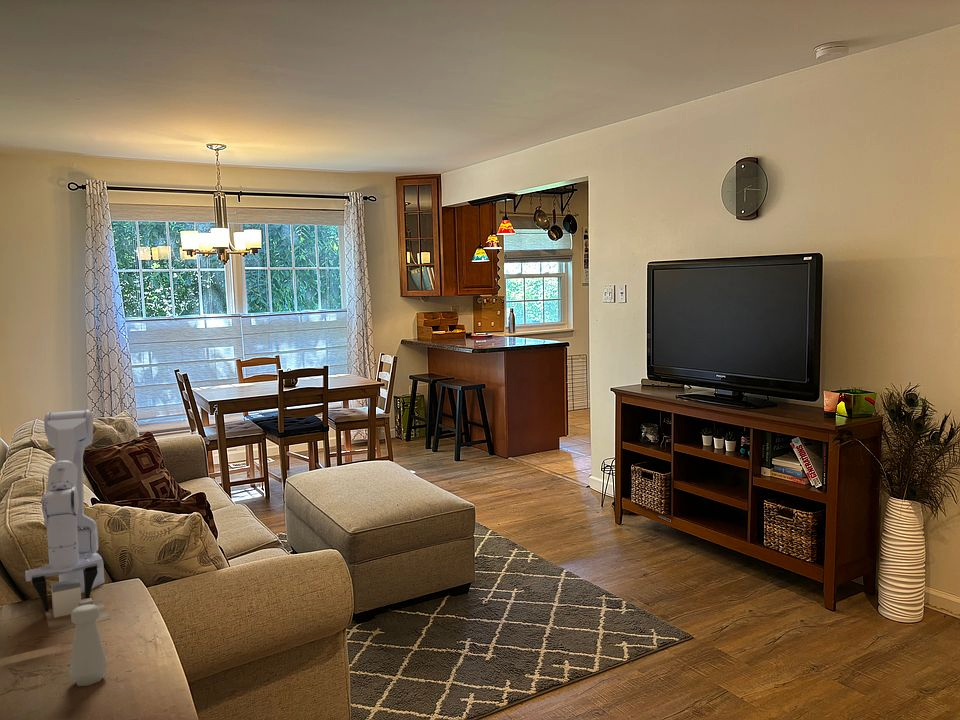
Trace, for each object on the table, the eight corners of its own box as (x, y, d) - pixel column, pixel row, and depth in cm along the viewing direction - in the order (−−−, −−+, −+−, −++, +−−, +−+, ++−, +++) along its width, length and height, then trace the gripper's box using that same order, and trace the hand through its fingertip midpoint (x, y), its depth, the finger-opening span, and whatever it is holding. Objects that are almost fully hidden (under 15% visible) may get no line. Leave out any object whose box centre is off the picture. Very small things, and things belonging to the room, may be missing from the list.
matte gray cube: (52, 610, 159) (51, 583, 159) (79, 605, 162) (78, 578, 162) (54, 617, 154) (52, 589, 154) (82, 611, 157) (80, 584, 157)
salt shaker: (96, 688, 123) (91, 612, 122) (63, 689, 123) (58, 613, 123) (114, 672, 129) (109, 600, 128) (82, 673, 129) (78, 601, 128)
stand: (45, 616, 159) (43, 593, 159) (101, 603, 165) (99, 582, 165) (50, 638, 146) (48, 614, 146) (110, 624, 152) (109, 601, 152)
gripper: (24, 555, 150) (28, 619, 151) (102, 541, 158) (106, 603, 159) (23, 548, 156) (27, 610, 157) (98, 535, 164) (102, 594, 165)
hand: (67, 606), depth 158 cm, fingers open, 7 cm apart
